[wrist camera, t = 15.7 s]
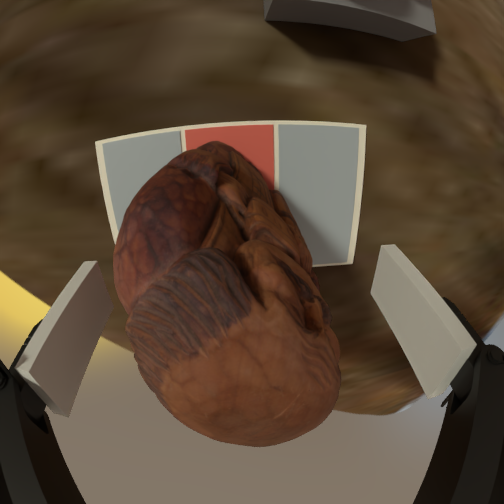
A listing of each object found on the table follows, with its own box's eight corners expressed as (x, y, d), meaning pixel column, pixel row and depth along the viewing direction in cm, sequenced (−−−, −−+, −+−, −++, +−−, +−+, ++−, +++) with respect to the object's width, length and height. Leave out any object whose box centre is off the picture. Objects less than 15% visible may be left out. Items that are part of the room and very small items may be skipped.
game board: (365, 124, 20) (366, 125, 19) (351, 262, 26) (353, 264, 26) (96, 141, 19) (94, 141, 19) (125, 276, 25) (124, 278, 25)
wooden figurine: (311, 228, 24) (412, 422, 8) (254, 272, 25) (282, 477, 10) (216, 121, 19) (132, 167, 3) (157, 178, 21) (14, 356, 5)
